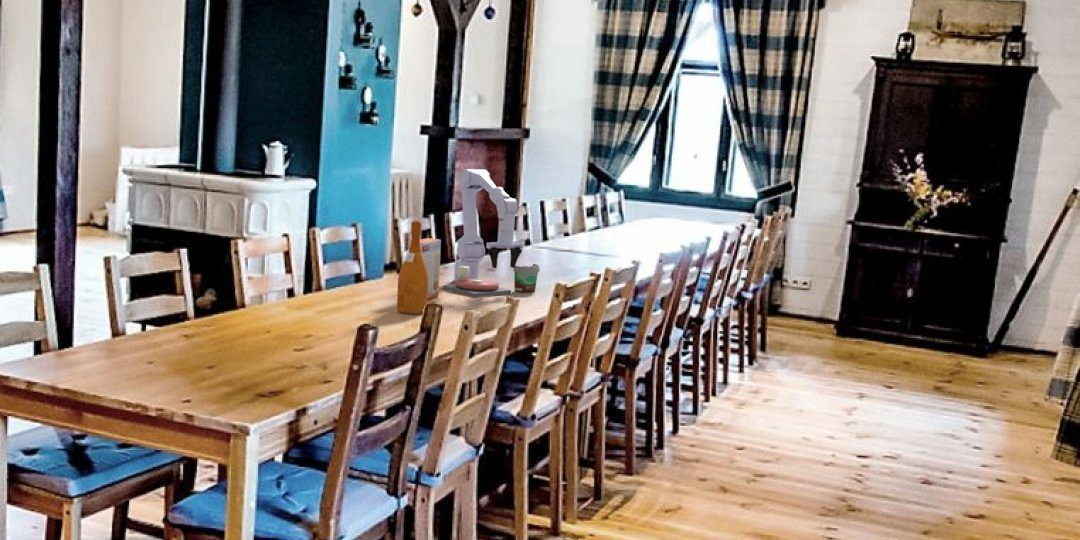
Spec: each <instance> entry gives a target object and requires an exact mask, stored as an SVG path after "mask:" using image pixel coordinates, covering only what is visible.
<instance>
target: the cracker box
mask: <svg viewBox="0 0 1080 540" xmlns="http://www.w3.org/2000/svg"><path fill="white" fill-rule="evenodd" d="M441 242H442V240H441V239H439V238H431V237H427V238H422V239H421V238H420V248H421V254H422V257H423V260H424V263H425V265H426V269H427V273H428V295H427V301H429V300H433V299H437V298H439V291H440V290H439V288H440V287H439V286H440V271H441V270H440V268H441V247H442V245H441V244H442V243H441ZM410 246H411V241H409V242H408V249H409V248H410Z"/></svg>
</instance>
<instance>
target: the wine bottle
mask: <svg viewBox="0 0 1080 540" xmlns="http://www.w3.org/2000/svg"><path fill="white" fill-rule="evenodd" d="M410 226H411V231H410V235H411V241H410V242H411V246H410V248H409V247H408V251H407V252H406V254H405V256H404V261H403V263H402V265H401V267H400V270H399V274H398V280H397V297H396V302H397V303H396V306H397V307H396V308H397V311H398V312H399V313H400V314H401V313H402V314H406V315H422V314H423V313H422V312H423V309H424V306H425V304H426V303H427V302H428V300H427V295H428V273H427V269H426V265H425V263H424V260H423V257H422V254H421V248H420V240H421V238H420V237H421V235H422V222H420V221H418V220H413V221H411V223H410Z"/></svg>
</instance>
